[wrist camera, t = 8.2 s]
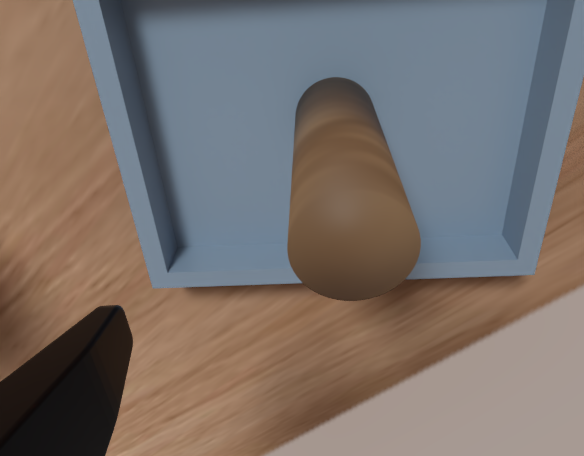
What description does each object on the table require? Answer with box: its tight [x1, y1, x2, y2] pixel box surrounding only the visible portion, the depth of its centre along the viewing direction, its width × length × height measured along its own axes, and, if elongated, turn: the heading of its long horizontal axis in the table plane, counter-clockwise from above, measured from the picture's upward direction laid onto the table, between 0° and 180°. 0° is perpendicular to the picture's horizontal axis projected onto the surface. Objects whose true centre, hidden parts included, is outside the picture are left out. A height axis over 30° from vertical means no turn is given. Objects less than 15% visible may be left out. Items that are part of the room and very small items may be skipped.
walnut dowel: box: [287, 77, 421, 301], centre depth 15 cm, size 3×3×9 cm
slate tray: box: [73, 0, 584, 288], centre depth 18 cm, size 16×13×2 cm
